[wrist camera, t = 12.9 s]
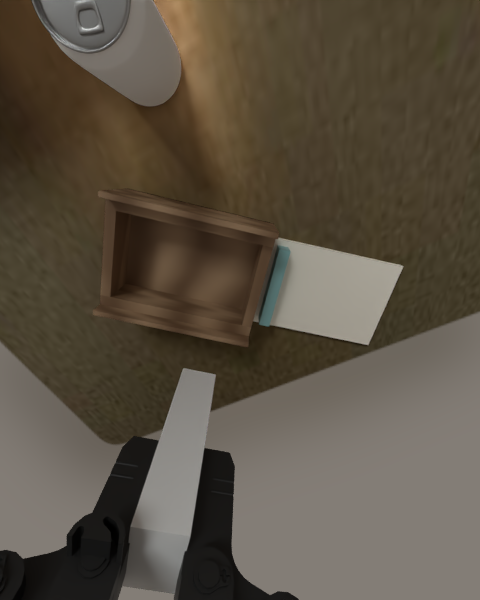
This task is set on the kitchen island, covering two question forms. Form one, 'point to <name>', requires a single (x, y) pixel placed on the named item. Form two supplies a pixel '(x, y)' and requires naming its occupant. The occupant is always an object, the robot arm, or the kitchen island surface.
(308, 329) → the lid
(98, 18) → the can
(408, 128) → the kitchen island surface
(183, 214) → the box
